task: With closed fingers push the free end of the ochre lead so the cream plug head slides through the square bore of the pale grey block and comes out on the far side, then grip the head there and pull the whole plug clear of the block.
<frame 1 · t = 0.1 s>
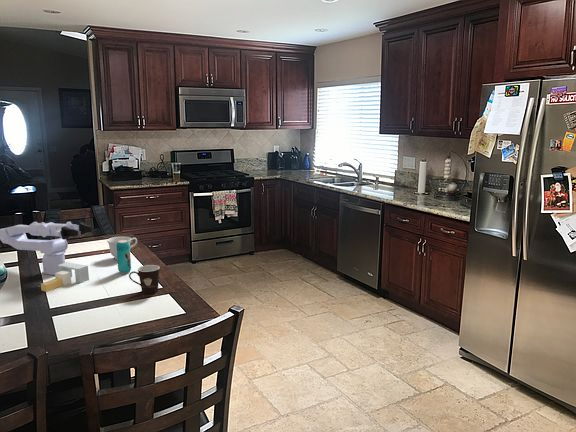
hand: (84, 231, 206), 22 cm above the table, tool horizontal, fingers open, 7 cm apart
teacup: (123, 258, 241), on the table
plug: (63, 283, 204), on the table
housing: (74, 279, 208), on the table
beverage can: (124, 272, 219), on the table
coffee mug: (147, 291, 196), on the table
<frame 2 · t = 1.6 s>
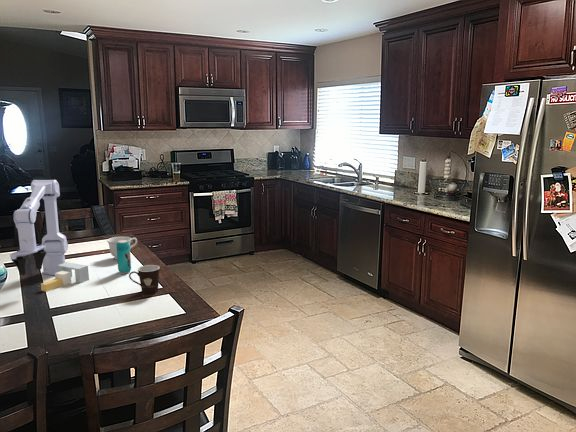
hand: (30, 271, 188), 10 cm above the table, tool pointing down, fingers open, 7 cm apart
nothing on the table moved.
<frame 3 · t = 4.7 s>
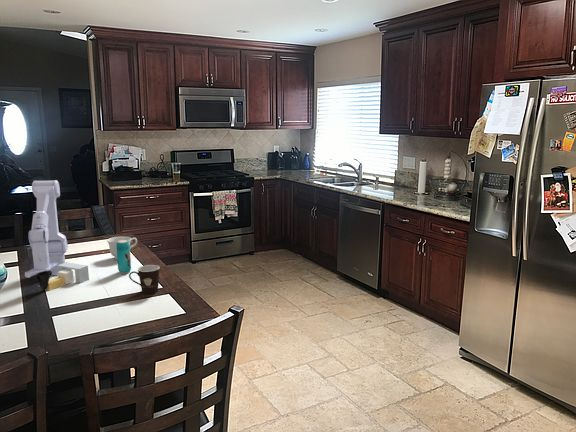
hand: (44, 288, 195), 1 cm above the table, tool pointing down, fingers closed
plug: (66, 282, 205), on the table, touching gripper
everything else where it was.
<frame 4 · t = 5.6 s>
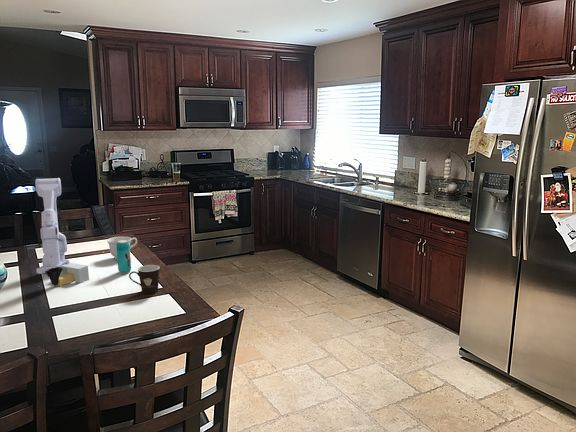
hand: (55, 284, 199), 1 cm above the table, tool pointing down, fingers closed
plug: (75, 278, 210), on the table, touching gripper
everything else where it was.
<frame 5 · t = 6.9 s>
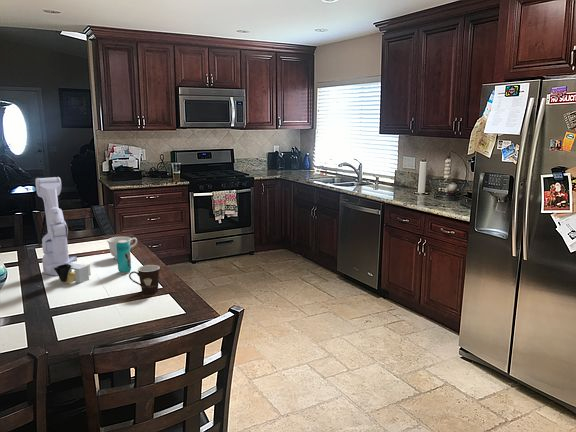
hand: (63, 281, 203), 1 cm above the table, tool pointing down, fingers closed
plug: (83, 275, 214), on the table, touching gripper
everything else where it was.
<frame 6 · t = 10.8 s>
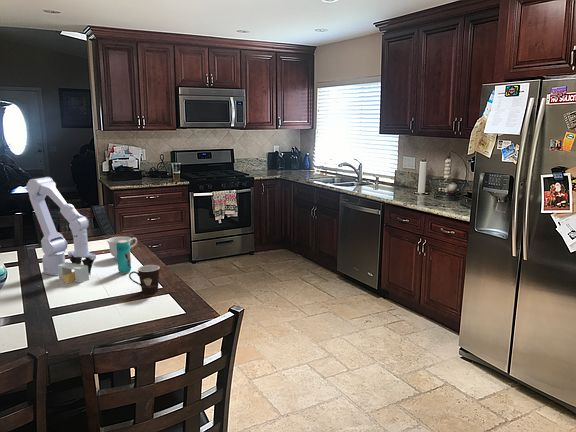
hand: (83, 272, 213), 1 cm above the table, tool pointing down, fingers open, 5 cm apart
nothing on the table moved.
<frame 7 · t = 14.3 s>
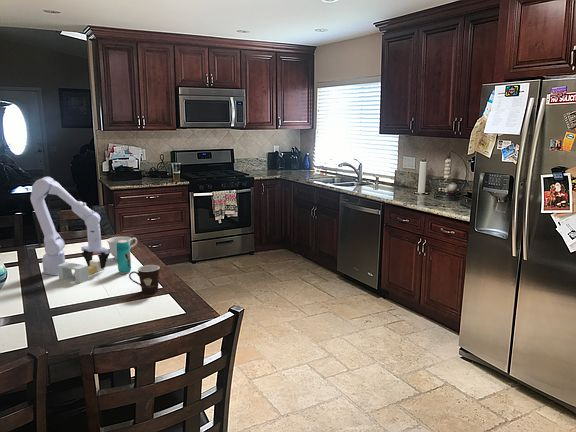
hand: (96, 267, 220), 2 cm above the table, tool pointing down, fingers open, 7 cm apart
plug: (97, 270, 221), on the table
everything else where it was.
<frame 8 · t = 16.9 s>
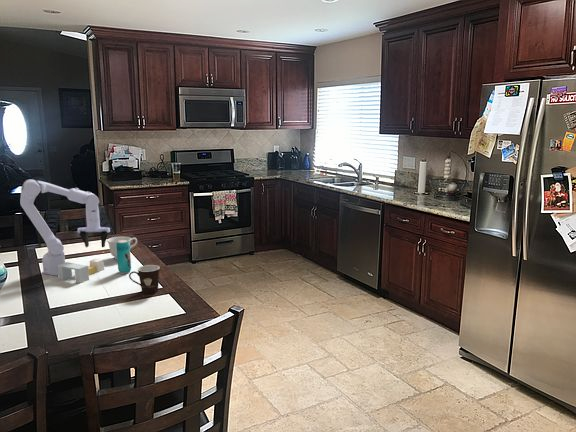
hand: (95, 246, 224), 10 cm above the table, tool pointing down, fingers open, 7 cm apart
nothing on the table moved.
at the end: plug inside the target area on the table beside the housing (2.7 cm from its centre), on the table; plug touching table; the gripper is holding nothing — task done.
